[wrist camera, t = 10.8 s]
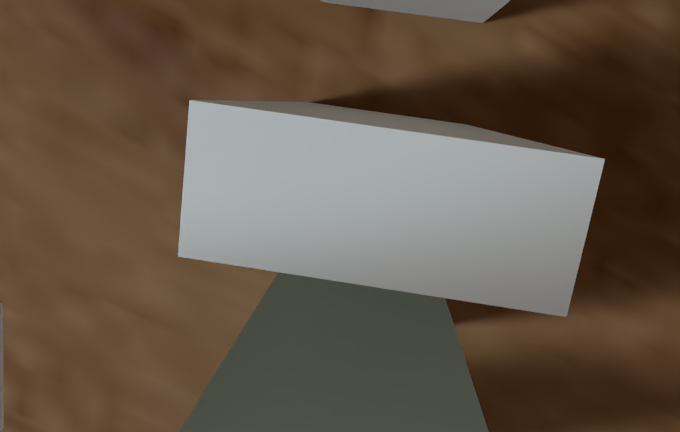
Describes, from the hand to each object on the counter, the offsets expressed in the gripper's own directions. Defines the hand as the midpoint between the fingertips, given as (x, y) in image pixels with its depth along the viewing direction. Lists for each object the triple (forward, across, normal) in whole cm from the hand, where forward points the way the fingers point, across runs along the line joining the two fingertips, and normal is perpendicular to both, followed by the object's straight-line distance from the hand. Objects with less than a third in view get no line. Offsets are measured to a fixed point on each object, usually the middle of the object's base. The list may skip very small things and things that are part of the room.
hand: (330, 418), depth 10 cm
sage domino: (+8, 0, 0) cm, 8 cm away
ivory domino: (+8, 0, +5) cm, 10 cm away
